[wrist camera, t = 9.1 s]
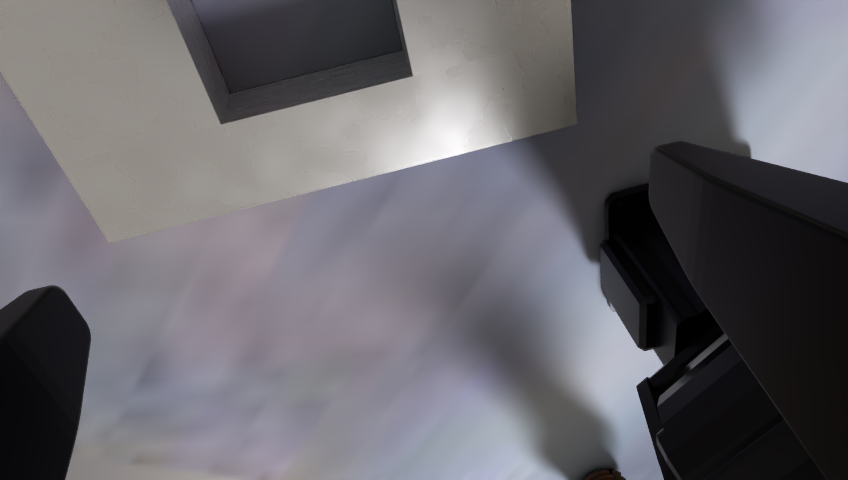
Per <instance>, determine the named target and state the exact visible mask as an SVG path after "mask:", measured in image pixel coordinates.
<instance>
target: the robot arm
mask: <svg viewBox="0 0 848 480" xmlns="http://www.w3.org/2000/svg"><path fill="white" fill-rule="evenodd" d="M619 202H622V203H621V204H620V205H619V206H617V207H614V206H615V205H616V204H617V203H619ZM604 209H605V240H604V241H603V242H602V244H601V246H600V264H601V287H602V289H603V291H604V293H605V294H606V296H607V303H608V305H609V307H610V309H611V310H612V311H613V312H617V314H618V316H619V317H620V319H621V320H622V322H623V324H624V325H625V327H626V329H627V330H628V332H629V334H630V335H631V337H632V338H633V340H634V342H635V343H636V345H637V347H638V348H640V349H642V350H643V351H647V350H651V349H653V350H654V351H655V353H656V354H657V356H658V357H659V359H660V360H661V362H662V364H663V365H664V366H663V367H662V368H661V369H659V370H658V371H657V372H656V373H655V374H654V375H653V376H651V377H650V378H648V377H646V378H645V379H644V380H643V381H642V382H641V383H639V384H638V385H637V391H638V394H639V398H640V401H641V404H642V408H643V411H644V415H645V418H646V421H647V425H648V428H649V432H650V435H651V438H652V442H653V445H654V449H655V452H656V455H657V459H658V462H659V465H660V468H661V471H662V474H663V478H664V480H848V183H846V182H842V181H838V180H834V179H830V178H826V177H822V176H818V175H814V174H810V173H806V172H802V171H798V170H794V169H790V168H786V167H782V166H779V165H775V164H771V163H767V162H763V161H759V160H755V159H751V158H747V157H743V156H739V155H735V154H731V153H727V152H723V151H719V150H715V149H711V148H707V147H703V146H699V145H695V144H691V143H687V142H683V141H677V142H673V143H668V144H664V145H660V146H657V147H655V148H654V149H653V150H652V153H651V156H650V174H649V184H645V185H641V186H637V187H633V188H629V189H625V190H622V191H618V192H615V193H612V194H611V195H609V196H608V197H607V199H606V200H605V204H604ZM90 343H91V334H90V329H89V327H88V325H87V323H86V321H85V320H84V318H83V317H82V315H81V314H80V313H79V311H78V310H77V308H76V307H75V305H74V304H73V302H72V301H71V300H70V298H69V297H68V295H67V294H66V293H65V291H64V290H63V289H61V288H60V287H58V286H54V285H51V286H46V287H42V288H37V289H33V290H29V291H27V292H25V293H23V294H22V295H20V296H19V297H18V298H16V299H15V300H13V301H12V302H11V303H9V304H8V305H6V306H5V307H3V308H2V309H1V310H0V480H65V479H66V475H67V471H68V467H69V463H70V460H71V456H72V452H73V448H74V444H75V440H76V436H77V431H78V426H79V420H80V415H81V408H82V401H83V393H84V386H85V379H86V372H87V364H88V357H89V350H90Z"/></svg>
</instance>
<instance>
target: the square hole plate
mask: <svg viewBox="0 0 848 480" xmlns="http://www.w3.org/2000/svg"><path fill="white" fill-rule="evenodd" d="M392 3H393V7H394V12H395V16H396V21H397V25H398V30H399V34H400V39H401V43H402V48H403V50H402V51H398V52H394V53H390V54H386V55H382V56H378V57H374V58H370V59H366V60H362V61H358V62H354V63H350V64H346V65H342V66H338V67H334V68H330V69H326V70H322V71H318V72H314V73H310V74H306V75H302V76H298V77H294V78H290V79H286V80H283V81H279V82H275V83H271V84H267V85H263V86H259V87H255V88H251V89H247V90H243V91H239V92H235V93H231V94H230V93H229V91H228V88H227V86H226V84H225V81H224V79H223V76H222V74H221V71H220V69H219V67H218V64H217V62H216V59H215V57H214V54H213V52H212V50H211V47H210V45H209V42H208V40H207V38H206V35H205V33H204V30H203V28H202V25H201V23H200V21H199V18H198V16H197V13H196V11H195V8H194V6H193V4H192V1H191V0H0V72H1V74H2V75H3V77H4V78H5V80H6V82H7V83H8V85H9V86H10V88H11V89H12V91H13V93H14V94H15V96H16V97H17V99H18V100H19V102H20V104H21V105H22V107H23V108H24V110H25V111H26V113H27V114H28V116H29V118H30V119H31V121H32V122H33V124H34V125H35V127H36V129H37V130H38V132H39V133H40V135H41V136H42V138H43V140H44V141H45V143H46V144H47V146H48V147H49V149H50V151H51V152H52V154H53V155H54V157H55V158H56V160H57V162H58V163H59V165H60V166H61V168H62V169H63V171H64V173H65V174H66V176H67V177H68V179H69V180H70V182H71V184H72V185H73V187H74V188H75V190H76V191H77V193H78V195H79V196H80V198H81V199H82V201H83V202H84V204H85V206H86V207H87V209H88V210H89V212H90V213H91V215H92V216H93V218H94V220H95V221H96V223H97V224H98V226H99V227H100V229H101V231H102V232H103V234H104V235H105V237H106V238H107V240H108V242H109V243H111V242H115V241H119V240H123V239H127V238H131V237H135V236H139V235H143V234H147V233H151V232H155V231H159V230H163V229H167V228H171V227H175V226H178V225H182V224H186V223H190V222H194V221H198V220H202V219H206V218H210V217H214V216H218V215H222V214H226V213H230V212H234V211H238V210H242V209H246V208H250V207H254V206H258V205H261V204H265V203H269V202H273V201H277V200H281V199H285V198H289V197H293V196H297V195H301V194H305V193H309V192H313V191H317V190H321V189H325V188H329V187H333V186H337V185H341V184H344V183H348V182H352V181H356V180H360V179H364V178H368V177H372V176H376V175H380V174H384V173H388V172H392V171H396V170H400V169H404V168H408V167H412V166H416V165H420V164H424V163H428V162H431V161H435V160H439V159H443V158H447V157H451V156H455V155H459V154H463V153H467V152H471V151H475V150H479V149H483V148H487V147H491V146H495V145H499V144H503V143H507V142H511V141H514V140H518V139H522V138H526V137H530V136H534V135H538V134H542V133H546V132H550V131H554V130H558V129H562V128H566V127H570V126H574V125H577V110H576V90H575V71H574V52H573V33H572V14H571V0H392Z"/></svg>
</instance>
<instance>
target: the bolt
mask: <svg viewBox="0 0 848 480" xmlns="http://www.w3.org/2000/svg"><path fill="white" fill-rule="evenodd" d="M584 480H626V479H625V478H624V477H622V476H621V473H620V472H618V471H615V470H612V472H611V475H610V473H609V471H608V470H603V469H600V470H597V471H593V472H592V473H590V474H589V475H588V476H587V477H586V478H585V479H584Z"/></svg>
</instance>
